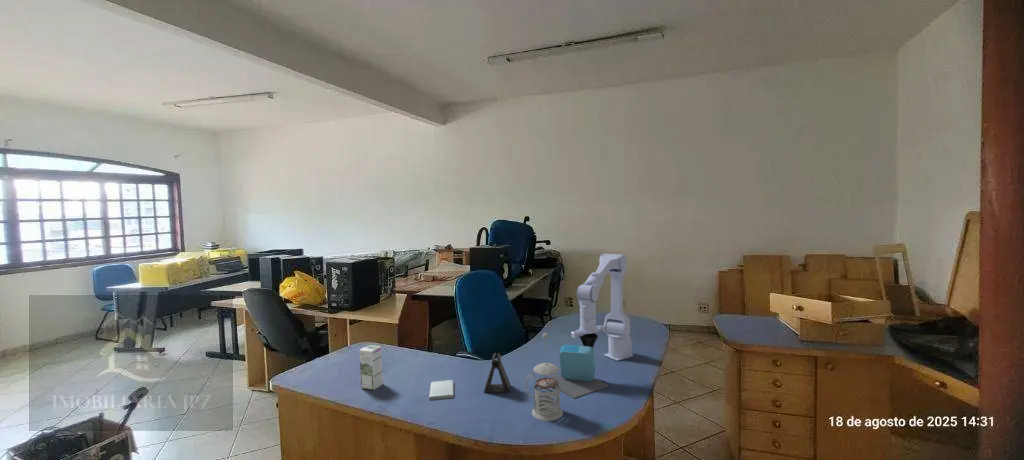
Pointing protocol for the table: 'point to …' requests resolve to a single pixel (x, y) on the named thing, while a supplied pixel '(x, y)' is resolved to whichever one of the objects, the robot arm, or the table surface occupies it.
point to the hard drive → (441, 390)
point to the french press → (544, 405)
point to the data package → (577, 362)
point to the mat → (578, 386)
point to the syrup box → (371, 367)
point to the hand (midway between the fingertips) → (588, 353)
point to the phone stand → (505, 381)
